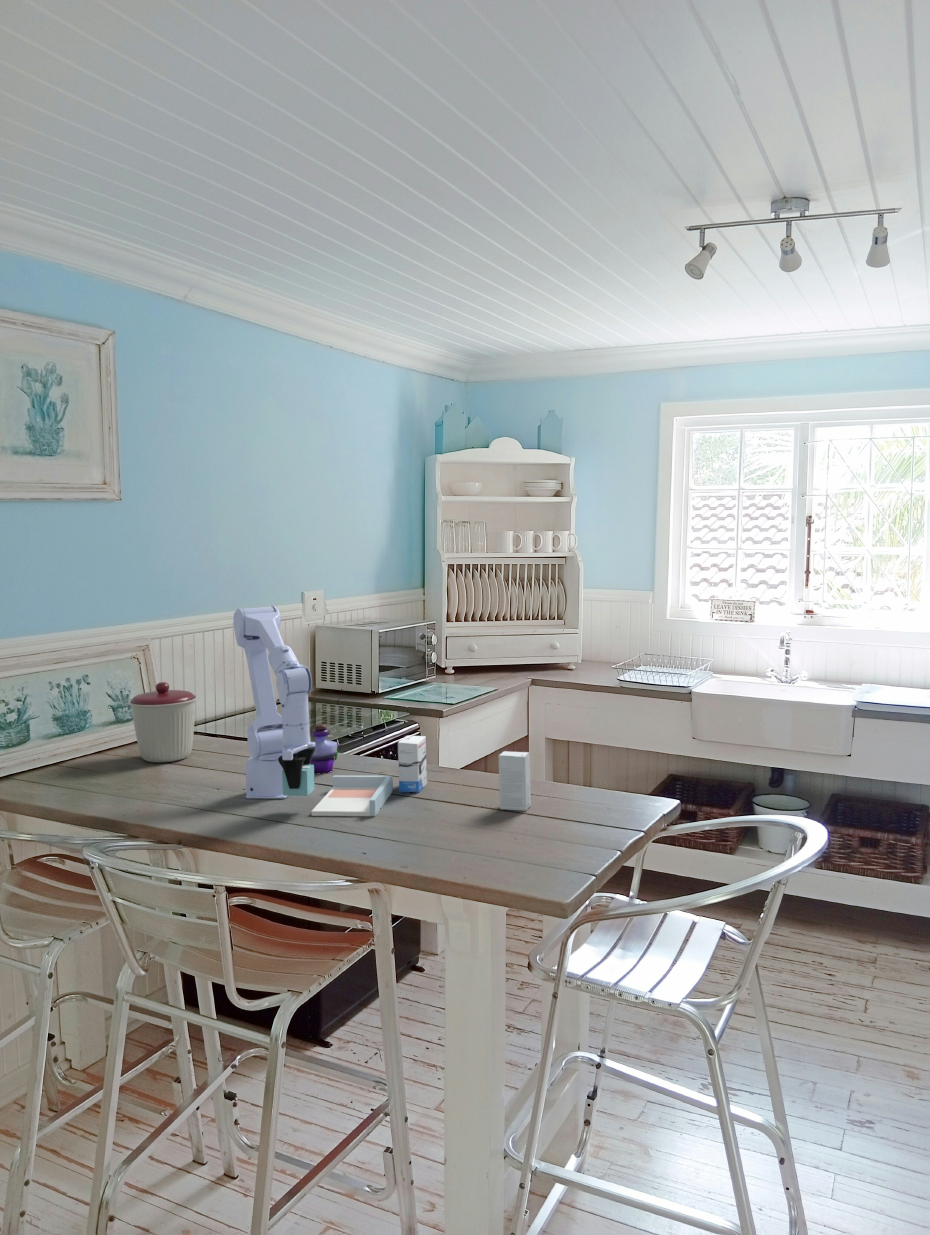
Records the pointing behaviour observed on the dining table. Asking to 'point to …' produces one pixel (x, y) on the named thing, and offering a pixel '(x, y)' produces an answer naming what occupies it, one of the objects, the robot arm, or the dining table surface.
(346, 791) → the tray
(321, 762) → the potion bottle
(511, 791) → the skincare box
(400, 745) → the ink box
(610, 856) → the dining table surface
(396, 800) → the dining table surface
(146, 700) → the canister
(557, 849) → the dining table surface
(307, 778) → the cube
